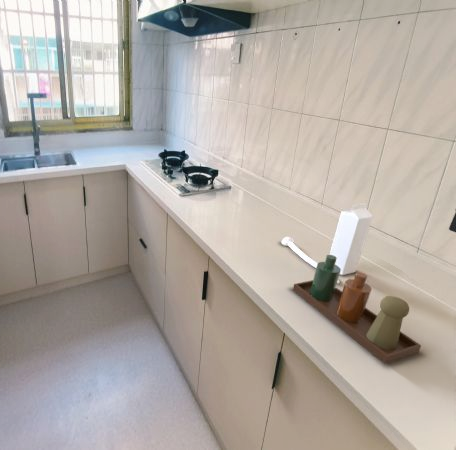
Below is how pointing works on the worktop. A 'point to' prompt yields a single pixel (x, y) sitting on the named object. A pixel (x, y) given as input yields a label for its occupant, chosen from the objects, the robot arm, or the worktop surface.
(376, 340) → the cork
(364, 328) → the tray
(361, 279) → the amber bottle
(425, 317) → the worktop surface
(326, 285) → the green bottle
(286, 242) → the spatula
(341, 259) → the milk
